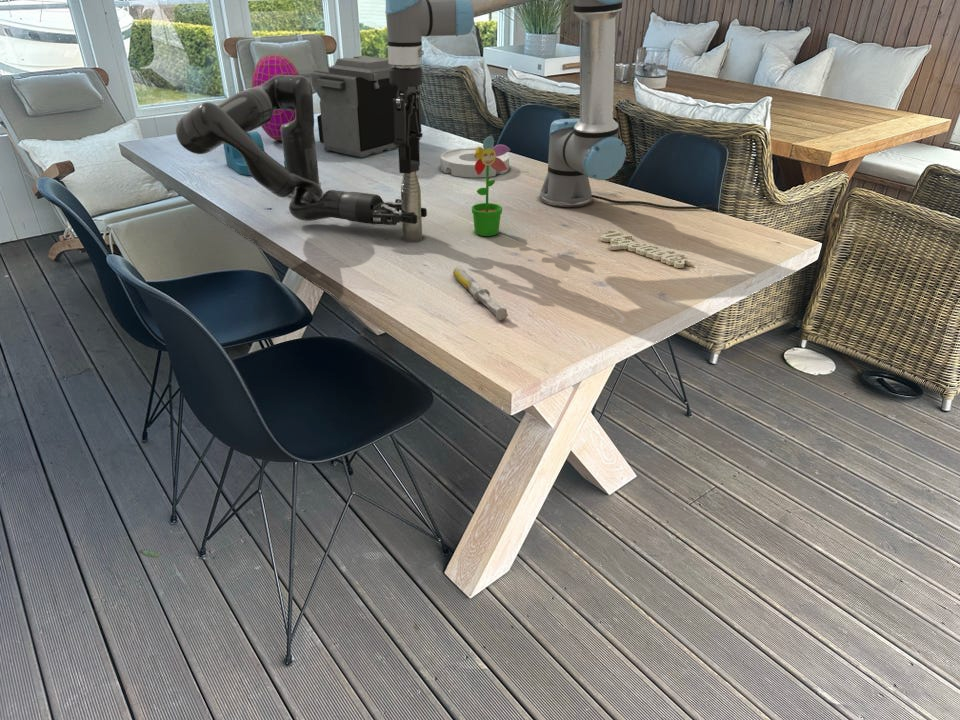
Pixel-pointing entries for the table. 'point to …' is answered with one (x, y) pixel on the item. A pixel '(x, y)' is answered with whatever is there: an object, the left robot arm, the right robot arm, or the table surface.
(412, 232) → the bottle
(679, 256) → the decorative sign
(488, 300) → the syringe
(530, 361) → the table surface
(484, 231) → the potted flower
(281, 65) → the decorative egg
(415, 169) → the cap
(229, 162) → the camera mount
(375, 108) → the cooler box
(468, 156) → the ashtray
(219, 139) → the left robot arm
